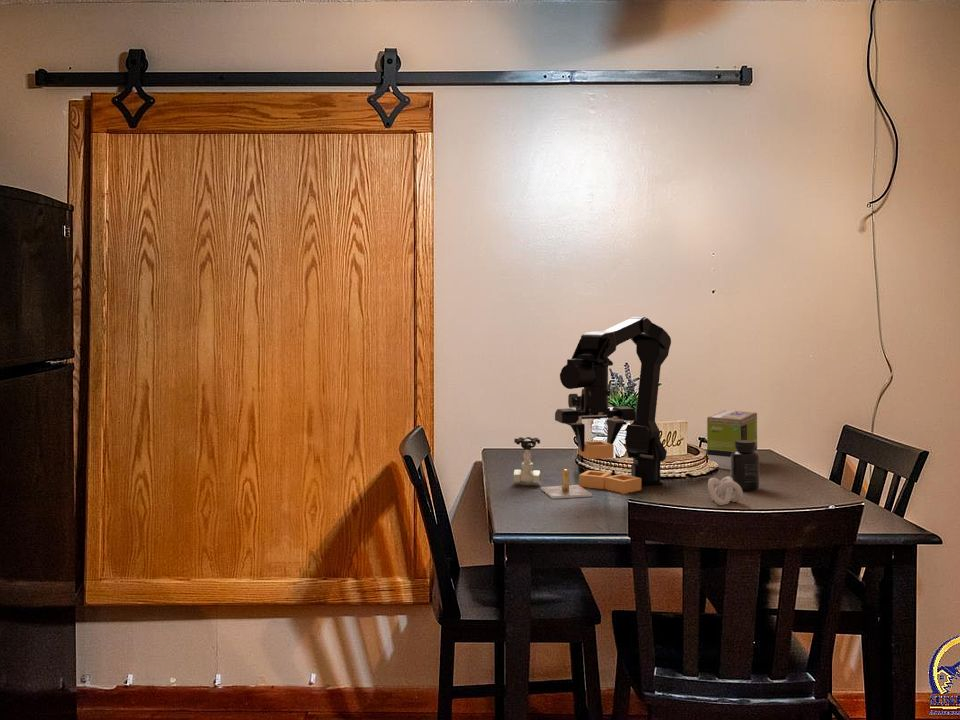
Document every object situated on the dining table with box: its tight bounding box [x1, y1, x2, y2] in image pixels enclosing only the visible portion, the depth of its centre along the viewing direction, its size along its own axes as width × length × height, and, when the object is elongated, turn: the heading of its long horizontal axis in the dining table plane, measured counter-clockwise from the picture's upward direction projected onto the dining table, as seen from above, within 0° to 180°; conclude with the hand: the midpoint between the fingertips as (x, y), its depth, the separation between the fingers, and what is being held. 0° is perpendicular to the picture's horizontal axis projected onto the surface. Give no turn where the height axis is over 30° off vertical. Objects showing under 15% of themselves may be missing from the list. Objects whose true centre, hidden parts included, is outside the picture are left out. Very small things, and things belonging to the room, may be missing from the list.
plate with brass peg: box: [539, 468, 593, 500], centre depth 198 cm, size 10×10×6 cm
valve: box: [513, 436, 542, 487], centre depth 206 cm, size 7×7×12 cm
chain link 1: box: [578, 469, 613, 490], centre depth 206 cm, size 6×6×3 cm
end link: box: [577, 440, 615, 460], centre depth 192 cm, size 6×6×3 cm
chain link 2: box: [604, 473, 642, 495], centre depth 201 cm, size 6×6×3 cm
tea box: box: [706, 410, 758, 471], centre depth 230 cm, size 15×10×15 cm, turn 144°
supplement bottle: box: [730, 440, 760, 492], centre depth 201 cm, size 7×7×12 cm
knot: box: [707, 475, 744, 505], centre depth 188 cm, size 8×8×6 cm
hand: (595, 450), depth 192 cm, fingers closed on end link, 6 cm apart
